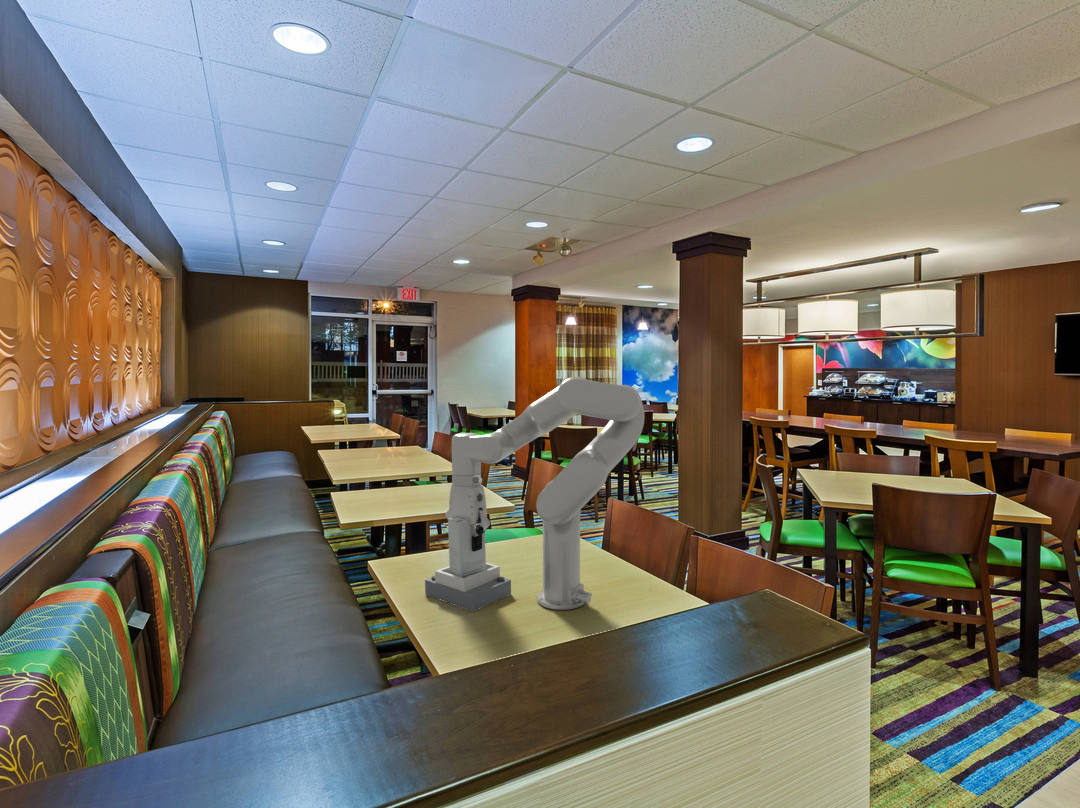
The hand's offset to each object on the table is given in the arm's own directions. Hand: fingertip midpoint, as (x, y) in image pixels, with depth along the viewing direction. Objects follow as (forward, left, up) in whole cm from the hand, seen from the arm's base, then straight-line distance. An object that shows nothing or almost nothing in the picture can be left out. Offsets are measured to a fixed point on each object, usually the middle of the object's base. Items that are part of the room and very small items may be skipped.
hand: (467, 546), depth 149 cm
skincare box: (0, 0, -7) cm, 7 cm away
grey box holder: (0, 0, -13) cm, 13 cm away
